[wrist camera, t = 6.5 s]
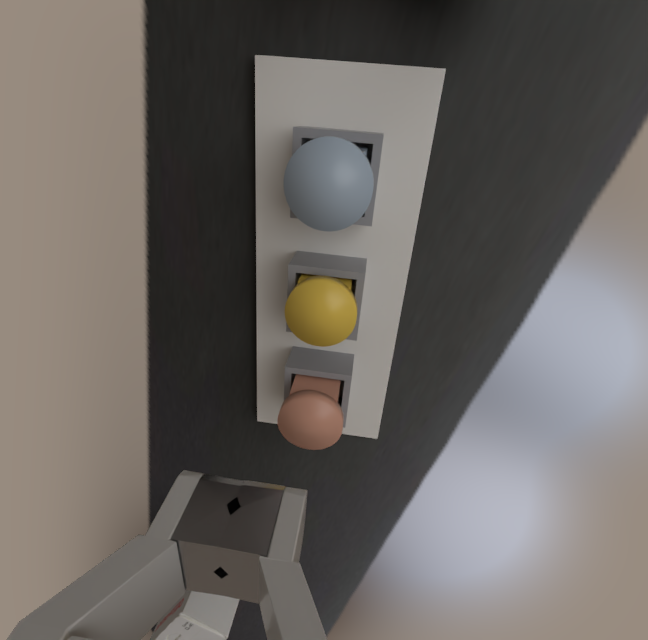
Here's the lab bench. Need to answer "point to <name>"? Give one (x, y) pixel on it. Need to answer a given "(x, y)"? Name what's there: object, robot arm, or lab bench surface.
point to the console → (347, 244)
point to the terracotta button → (312, 413)
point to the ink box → (197, 618)
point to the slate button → (329, 183)
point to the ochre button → (321, 309)
